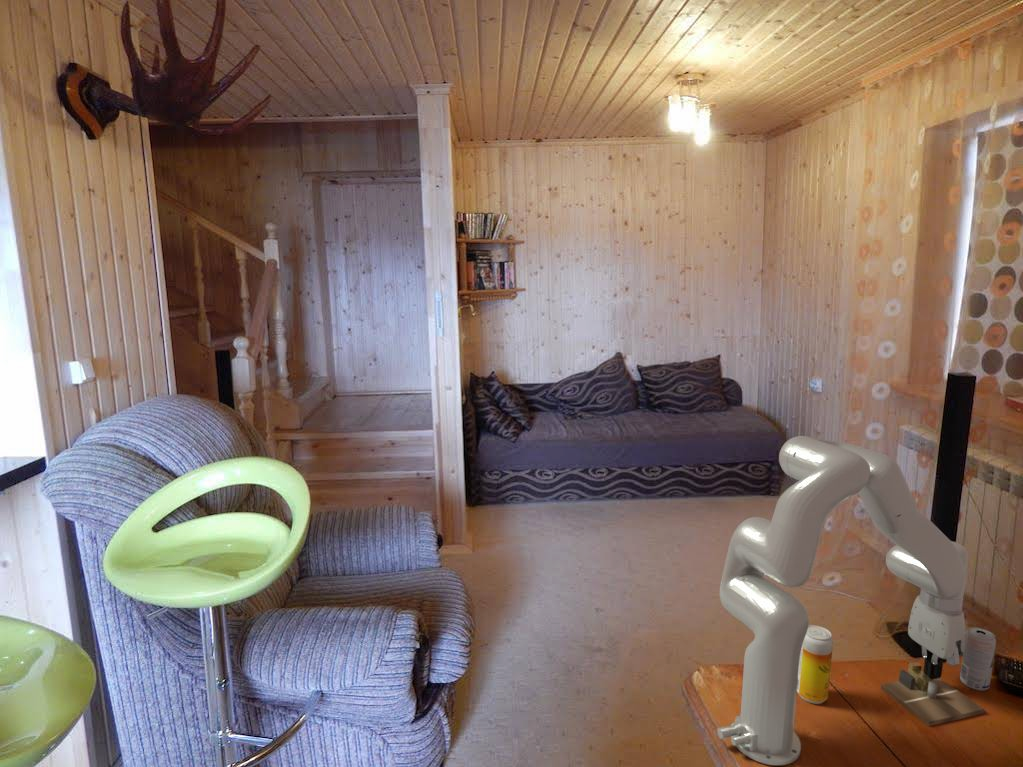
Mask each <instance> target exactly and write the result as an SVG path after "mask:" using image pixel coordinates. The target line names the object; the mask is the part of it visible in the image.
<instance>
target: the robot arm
mask: <svg viewBox="0 0 1023 767" xmlns="http://www.w3.org/2000/svg"><path fill="white" fill-rule="evenodd" d="M778 463H779V465H780V467H781V470H782V471H783V473H785V474H786V475H787V476H789V477H790V478H793V479H794V480H797V481H796V482H795V483H794V484H792V485H791V486H789V487H788V488H787V489H786V490H785V491H784V492H783V493H781V495H780V496H779V498H778V500H777V502H776V505H775V509H774V512H773V514H772V518H771V520H770V519H768V518H764V517H761V516H760V517H759V516H752V517H748V518H746V519H745V520H743V521H742V522H741V523H739V524H738V526H737V527H736V528H735V530H734V532H732V533H733V534H732V535H731V538H730V540H729V541H730V542H729V546H728V549H727V554H726V558H725V562H724V566H723V571H722V576H721V580H720V584H719V585H720V586H719V599H720V602H721V604H722V606H723V607H724V609H725V610H726V611H727V612H728V613H730V614H731V615H732V616H733V617H735V618H736V619H737V620H739V621H740V622H741V623H742V624H744V625H745V626H746V627H748V628H749V629H750V630H751V631H752V632H753V633H754V639H753V640H752V641H751V642H750V643H749V644H748V645H747V647H746V649H745V652H744V657H743V658H744V659H743V671H742V672H743V673H742V674H743V676H742V687H741V688H742V690H741V702H740V705H741V706H740V715H736V716H735V720H734V721H733V723H731V724H730V725H729V726H727V725H725V726H721V727H717V729H716V731H717V736H718V737H719V739H720V740H723V739H728V738H730V741H731V744H732V745H733V746H735V747H736V748H737V749H738V751H740V752H741V753H742V754H743V755H744V756H747V758H749V759H752V760H753V761H756V762H758V763H761V764H764V765H769V766H786V765H790V764H791V763H794V762H795V761H797V760H798V759H799V757H800V755H801V752H802V751H801V750H802V742H801V740H800V737H799V736H798V734H797V733H796V732H795V731H794V730H795V728H794V726H795V725H794V724H795V715H796V704H797V703H796V701H797V694H798V692H797V681H798V668H799V659H800V653H801V648H802V645H803V641H804V638H805V636H806V633H807V629H808V626H809V625H810V624H809V623H810V618H809V614H808V612H807V609H806V607H805V606H804V605H803V604H802V602H801V601H800V600H799V599H797V598H796V597H795V596H794V595H793V594H791V593H789V592H788V591H787V590H785V589H784V588H782V587H780V586H779V585H777V584H776V583H778V584H780V585H782V586H784V587H788V588H793V589H794V588H800V587H802V586H805V584H806V583H807V582H808V581H809V578H810V576H811V574H812V572H813V569H814V564H815V561H816V557H817V552H818V549H819V545H820V540H821V536H822V533H823V530H824V526H825V524H826V520H827V518H828V516H829V515H830V513H831V512H832V511H833V510H834V509H835V508H836V507H837V506H839V505H840V504H841V503H843V502H845V501H846V500H847V499H849V498H850V497H852V496H855V495H856V494H858V495H859V497H860V500H861V501H862V503H863V505H864V507H865V510H866V511H867V513H868V516H869V518H870V520H871V522H872V524H873V525H874V527H875V528H876V530H878V531H879V532H880V534H882V535H883V536H884V537H886V538H887V539H888V540H890V541H891V542H893V544H896V545H894V546H892V547H891V548H890V549H889V550H888V551H887V553H886V556H885V565H886V567H887V569H888V570H889V572H891V573H892V574H893V575H894V576H896V577H898V578H899V579H901V580H903V581H906V582H908V583H910V584H912V585H914V586H917V587H918V588H919V589H920V593H919V595H917V596H916V598H915V600H914V602H913V604H912V608H911V611H910V616H909V621H908V626H907V627H908V628H907V634H908V636H909V637H910V638H911V640H912V641H914V642H916V643H917V644H918V645H919V647H920V650H921V655H922V658H924V663H923V670H922V671H923V672H924V673H925V674H926V675H927V676H928V677H929V678H930V679H931V680H932V679H937V678H940V679H941V678H942V674H943V667H944V666H943V665H944V664H945V663H946V664H948V665H950V666H953V667H955V666H959V665H960V657H963V651H964V644H965V636H966V624H965V622H966V621H965V613H964V611H963V601H964V596H965V588H966V586H967V581H968V579H967V578H968V576H967V570H968V561H969V552H968V550H967V549H966V547H964V545H962V544H961V543H958V542H957V541H952V540H951V539H949V537H947V536H946V535H945V534H944V533H943V532H942V531H941V529H939V527H938V526H937V525H936V524H935V523H934V522H933V521H932V520H930V519H929V518H928V517H927V516H926V515H925V514H924V513H923V512H921V510H920V508H918V505H917V502H916V500H915V498H914V496H913V494H912V492H911V490H910V488H909V485H908V482H907V481H906V478H905V476H904V474H903V471H902V470H901V467H900V465H899V464H898V463H897V461H896V460H895V459H893V458H892V457H890V456H889V455H888V454H884V453H883V452H879V451H875V450H872V449H868V448H867V447H866V448H865V447H864V446H863V447H862V446H860V445H856V444H853V443H848V442H845V441H844V442H843V441H838V440H837V441H836V440H831V439H824V438H819V437H818V438H817V437H813V436H807V435H798V436H793V437H791V438H789V439H788V440H787V441H785V442H784V444H783V445H782V446H781V448H780V450H779V454H778ZM764 576H766V577H768V578H769V579H771V580H773V581H774V582H775V583H774V582H771V581H770V580H769V579H767V578H765V577H764Z"/></svg>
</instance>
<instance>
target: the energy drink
mask: <svg viewBox="0 0 1023 767" xmlns="http://www.w3.org/2000/svg"><path fill="white" fill-rule="evenodd" d="M996 645H997V639H996V635H995V634H994V633H993V632H991V631H989V630H987V629H984V628H981V627H977V626H974V627H968V628H967V631H965V643H964V650H963V654H962V661H961V665H960V666H961V667H960V674H959V675H960V676H959V680H960V681H961V683H962V684H963V685H964V686H966V688H967V687H968V688H970V689H972V690H975V691H980V692H981V691H987V690H989V689H990V688H991V687H990V685H991V679H992V674H993V673H992V672H993V665H994V661H995V660H994V659H995V658H994V657H995V652H996Z"/></svg>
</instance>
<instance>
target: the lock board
mask: <svg viewBox="0 0 1023 767" xmlns="http://www.w3.org/2000/svg"><path fill="white" fill-rule="evenodd" d="M898 677H899V679H898V680H897V681H892V682H888V683H882V684H881V686H880V690H882V691H883V692H884V693H886V694H887V695H888V696H889V697H891V698H892V699H893V700H894V701H895V702H897V703H899V704H900V705H901V706H903V707H904V708H905V709H906V710H908V712H910V713H911V714H913V716H915V717H916V718H917V719H919V720H920V721H921V722H923V723H924V724H925V725H927V726H928V727H932V726H936V725H940V724H944V723H948V722H952V721H953V722H954V721H957V720H958V721H959V720H962V719H965V718H970V717H974V716H979V715H983V714H985V708H983V707H982V705H980V704H978V703H976V702H975V701H974V700H972V699H971V698H969V697H967V696H966V695H965V694H963V693H962V692H961V691H959V690H958V689H956V688H954V687H953V686H952V685H950V683H948V682H946V681H945V680H943V679H942V678H941V677H940V678H937V679H932V681H933V682H932V681H930V682H929V683H928V691H922V690H921V689H920V688H918V687H917V686H916V685H915V678H914V677H913V676H912V675H910V674H909V673H908V671H906V670H904V669H901V670H899V676H898Z"/></svg>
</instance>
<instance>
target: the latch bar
mask: <svg viewBox="0 0 1023 767" xmlns="http://www.w3.org/2000/svg"><path fill="white" fill-rule="evenodd" d="M922 667H923V666H922V665H921V663H919V662H908V670H907V673H909V674H910V675H912V676H913V677H914V678H915V685H916V686H917V687H918V688H920V689H921V690H922V691H928V683H929V682H930V681H932V680H931V679H930V678H929V677H928V676H927V675H926V674H925V673H924V672H923V671H924V670H922V669H923V668H922ZM932 682H933V681H932Z"/></svg>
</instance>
